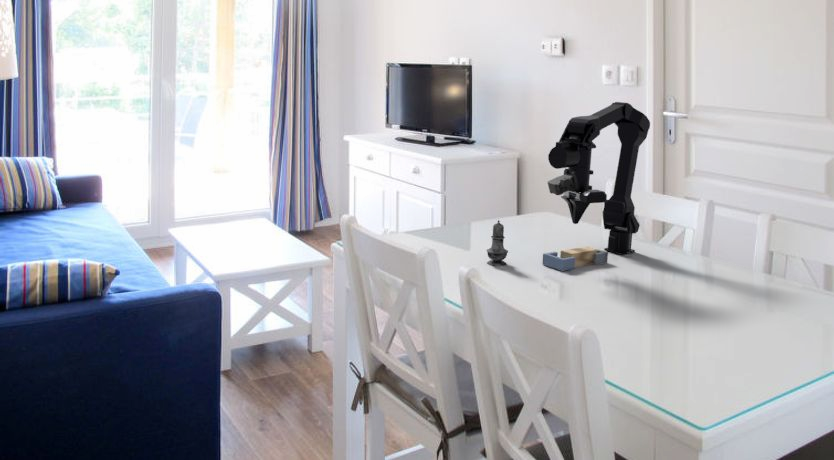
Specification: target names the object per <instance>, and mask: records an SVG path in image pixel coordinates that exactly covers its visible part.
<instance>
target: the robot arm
mask: <svg viewBox="0 0 834 460" xmlns="http://www.w3.org/2000/svg"><path fill="white" fill-rule="evenodd" d="M612 124H615V126H616V127H617V137H618V139H619V142H620V143H621V144H620V152H619V157H618V164H617V170H616V174H615V175H616V176H615V180H614V187H613V193H612V195H611V196H610V198H609V199H607V197H608V196H607V193H606V192H605V191H602V190H599V189H593V185H590V178H591V177H590V176H591V175H594V170H592V169H591V164H592V162H591V161H592V150H594V149H596V148H597V145H596V144H595V143H594V142H593V141H594V140H595V139H596V138H598V137H599V136H600V134H601V131H602V130H603V129H605V128H607V127H608V126H611V125H612ZM650 127H651V122H650V119H648V117H647V115H645V113H643V112H642V111H640V110H638V109H637V108H635V107H634V106H633V105H632V104H630V103H629V102H621V101H615V102H612V103H611V105H608V106H606V107H604V108H602V109H600V110H599V111H596V112H595V113H592V114H591V115H581V116H575V117H571V118H570V120H569V121H568V123H567V125H566V126H565V129H564V130H563V133H562V135H561V137H560V138H559V140H558V141H556V142H555V146H554V147H552V148H551V149H550V151H549V154H548V156H547V157H548V158H547V159H548V162H549V164H550V166H551V167H552V168H554V169H557V170H560V169H564V170H563V174H562V175H558V176H556V177H555V178H552V179H549V180H548V181H547V186H548V189H549V193H550V194H554V195H555V196H560V197H561V199H562V200H564V201H565V202H566V203H567V207H568V209H569V214H570V218H571V220H572V223H573V224H574V225H577V224H579V222H580V220H581V219H582V217H583V215H584V213H585V212H586V210H587V209H588V207H589V206H590V204H602V203H603V210H602V220H603V222H602V223H603V229H604V230H609V233H608V234H609V235H608V240H607V242H608V243H607V247H605V248H603V251H605V252H610V253H614V254H617V255H625V254H631V253H636V250H635V249H633V248H632V241H633V234H637V233H638V232H639V230H640V222H639V221H638V218H637V217H636V214H635V208H636V207H635V205H634V202H633V199H632V191H633V183H634V179H635V172H636V167H637V162H638V156H639V150H640V146H641V145H642V144H643V143H644V142H645V140H646V139H647V138H648V133H649V130H650Z"/></svg>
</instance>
